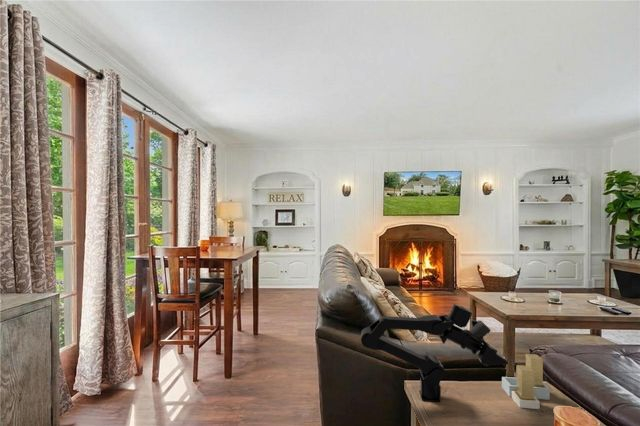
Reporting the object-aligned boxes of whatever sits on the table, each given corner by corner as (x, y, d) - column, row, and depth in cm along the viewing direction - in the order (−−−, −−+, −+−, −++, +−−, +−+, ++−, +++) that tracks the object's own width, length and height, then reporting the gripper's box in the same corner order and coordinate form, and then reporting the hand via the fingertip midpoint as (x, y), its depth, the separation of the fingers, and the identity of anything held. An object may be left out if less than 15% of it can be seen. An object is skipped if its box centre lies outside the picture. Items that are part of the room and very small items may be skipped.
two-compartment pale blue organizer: (509, 396, 120) (509, 385, 120) (501, 387, 127) (501, 376, 127) (549, 399, 118) (549, 388, 118) (539, 389, 125) (539, 379, 125)
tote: (519, 407, 114) (519, 400, 114) (511, 397, 120) (511, 390, 120) (539, 409, 113) (539, 401, 113) (530, 398, 119) (530, 391, 119)
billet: (521, 405, 115) (521, 370, 115) (516, 399, 119) (516, 365, 119) (534, 406, 114) (534, 371, 114) (528, 400, 118) (528, 365, 118)
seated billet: (531, 392, 121) (530, 358, 121) (525, 386, 124) (525, 353, 125) (543, 393, 120) (543, 359, 120) (537, 387, 124) (537, 354, 124)
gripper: (479, 326, 110) (524, 348, 108) (462, 310, 128) (501, 328, 126) (464, 355, 110) (509, 377, 108) (450, 335, 129) (488, 353, 127)
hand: (501, 357), depth 117 cm, fingers open, 9 cm apart
